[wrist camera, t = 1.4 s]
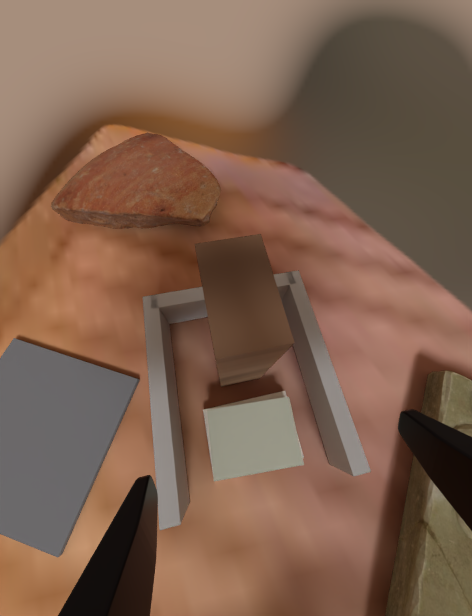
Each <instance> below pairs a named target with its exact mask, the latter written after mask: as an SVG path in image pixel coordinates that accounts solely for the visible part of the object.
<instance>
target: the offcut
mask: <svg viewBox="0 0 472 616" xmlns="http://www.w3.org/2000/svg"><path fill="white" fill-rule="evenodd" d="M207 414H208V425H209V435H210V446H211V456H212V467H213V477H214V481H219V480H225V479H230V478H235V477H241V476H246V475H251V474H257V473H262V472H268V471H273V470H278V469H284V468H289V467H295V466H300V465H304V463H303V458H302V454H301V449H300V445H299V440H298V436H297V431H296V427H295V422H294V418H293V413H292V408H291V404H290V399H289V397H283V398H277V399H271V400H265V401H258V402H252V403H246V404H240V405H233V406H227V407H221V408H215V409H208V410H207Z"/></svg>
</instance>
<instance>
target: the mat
mask: <svg viewBox="0 0 472 616" xmlns="http://www.w3.org/2000/svg"><path fill="white" fill-rule="evenodd" d="M138 382H139V379H136V378H133V377H130V376H127V375H124V374H121V373H118V372H115V371H112V370H109V369H106V368H103V367H100V366H97V365H94V364H91V363H88V362H85V361H82V360H79V359H76V358H73V357H70V356H67V355H63V354H60V353H57V352H54V351H51V350H48V349H45V348H42V347H39V346H36V345H33V344H30V343H27V342H24V341H21V340H18V339H15V338H14V339H13V340H12V342H11V343H10V345H9V346H8V348H7V349H6V351H5V352H4V353H3V355H2V356H1V358H0V534H2V535H4V536H6V537H9V538H11V539H14V540H16V541H19V542H21V543H24V544H26V545H29V546H31V547H34V548H36V549H38V550H41V551H43V552H46V553H48V554H51V555H53V556H56V557H59V556H61V555H62V553H63V551H64V548H65V546H66V544H67V542H68V540H69V537H70V535H71V533H72V531H73V528H74V526H75V524H76V522H77V519H78V517H79V515H80V513H81V510H82V508H83V506H84V504H85V501H86V499H87V497H88V495H89V492H90V490H91V488H92V486H93V483H94V481H95V479H96V477H97V474H98V472H99V470H100V468H101V465H102V463H103V461H104V459H105V456H106V454H107V452H108V450H109V448H110V445H111V443H112V441H113V439H114V436H115V434H116V432H117V430H118V427H119V425H120V423H121V421H122V418H123V416H124V414H125V412H126V409H127V407H128V405H129V403H130V400H131V398H132V396H133V394H134V391H135V389H136V387H137V385H138Z"/></svg>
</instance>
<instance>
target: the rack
mask: <svg viewBox="0 0 472 616" xmlns="http://www.w3.org/2000/svg"><path fill="white" fill-rule="evenodd" d="M274 278H275V281H276V285H277V288H278V291H279V294H280V297H281V301H282V304H283V307H284V310H285V314H286V317H287V320H288V323H289V326H290V330H291V333H292V336H293V339H294V342H295V343H294V344H293V347H294V350H295V354H296V357H297V360H298V363H299V367H300V370H301V373H302V376H303V380H304V383H305V386H306V389H307V393H308V396H309V399H310V402H311V406H312V409H313V412H314V415H315V419H316V422H317V425H318V428H319V432H320V435H321V438H322V441H323V445H324V448H325V451H326V454H327V458H328V461H329V464H330V465H332V466H334V467H336V468H338V469H340V470H342V471H344V472H346V473H348V474H350V475H352V476H357V475H361V474H365V473H368V472H371V470H370V467H369V465H368V462H367V459H366V456H365V454H364V451H363V448H362V445H361V442H360V440H359V437H358V434H357V431H356V429H355V426H354V423H353V420H352V417H351V415H350V412H349V409H348V406H347V404H346V401H345V398H344V395H343V392H342V390H341V387H340V384H339V381H338V379H337V376H336V373H335V370H334V367H333V365H332V362H331V359H330V356H329V354H328V351H327V348H326V345H325V342H324V340H323V337H322V334H321V331H320V329H319V326H318V323H317V320H316V317H315V315H314V312H313V309H312V306H311V304H310V301H309V298H308V295H307V292H306V290H305V287H304V284H303V281H302V279H301V276H300V273H299V270H298V271H292V272H286V273H280V274H274ZM143 309H144V323H145V336H146V350H147V364H148V377H149V391H150V404H151V418H152V432H153V445H154V459H155V472H156V486H157V494H158V513H159V527H160V530H163V529H167V528H170V527H174V526H177V525H181V522H182V520H183V517H184V515H185V512H186V510H187V508H188V505H189V503H190V498H189V490H188V481H187V472H186V464H185V455H184V446H183V437H182V429H181V420H180V411H179V403H178V394H177V385H176V376H175V368H174V359H173V350H172V342H171V333H170V324H172V323H178V322H183V321H189V320H194V319H200V318H205V317H208V315H207V310H206V304H205V299H204V293H203V288H202V287H198V288H192V289H186V290H180V291H174V292H168V293H162V294H156V295H151V296H145V297H143Z"/></svg>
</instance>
